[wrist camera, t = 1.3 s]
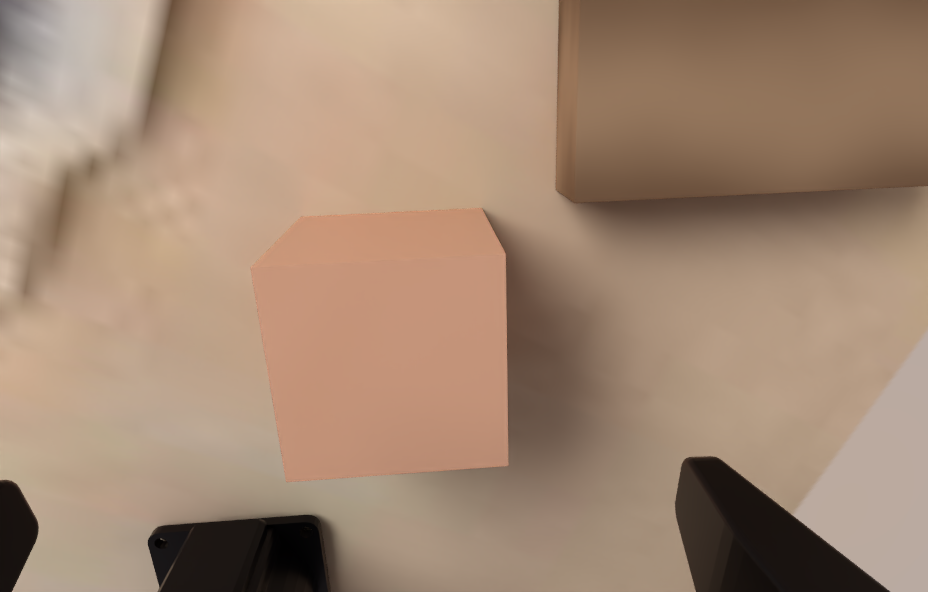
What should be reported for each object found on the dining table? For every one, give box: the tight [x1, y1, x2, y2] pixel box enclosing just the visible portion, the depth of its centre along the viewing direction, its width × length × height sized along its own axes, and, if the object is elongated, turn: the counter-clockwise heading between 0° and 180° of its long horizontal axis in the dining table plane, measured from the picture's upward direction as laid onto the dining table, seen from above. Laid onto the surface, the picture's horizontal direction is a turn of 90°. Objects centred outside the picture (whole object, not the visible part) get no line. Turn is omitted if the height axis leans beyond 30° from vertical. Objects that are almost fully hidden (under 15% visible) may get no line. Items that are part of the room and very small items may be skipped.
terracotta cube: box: [251, 208, 508, 482], centre depth 17 cm, size 6×6×6 cm
